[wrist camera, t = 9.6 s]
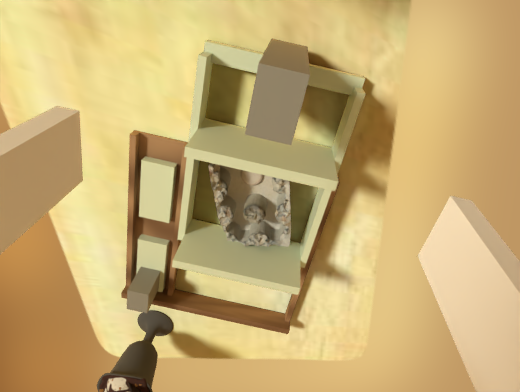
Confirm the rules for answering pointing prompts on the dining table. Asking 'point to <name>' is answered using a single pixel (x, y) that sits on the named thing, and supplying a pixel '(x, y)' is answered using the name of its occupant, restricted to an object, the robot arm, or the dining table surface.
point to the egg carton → (252, 206)
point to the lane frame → (137, 225)
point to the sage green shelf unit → (262, 158)
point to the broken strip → (151, 248)
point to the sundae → (137, 358)
